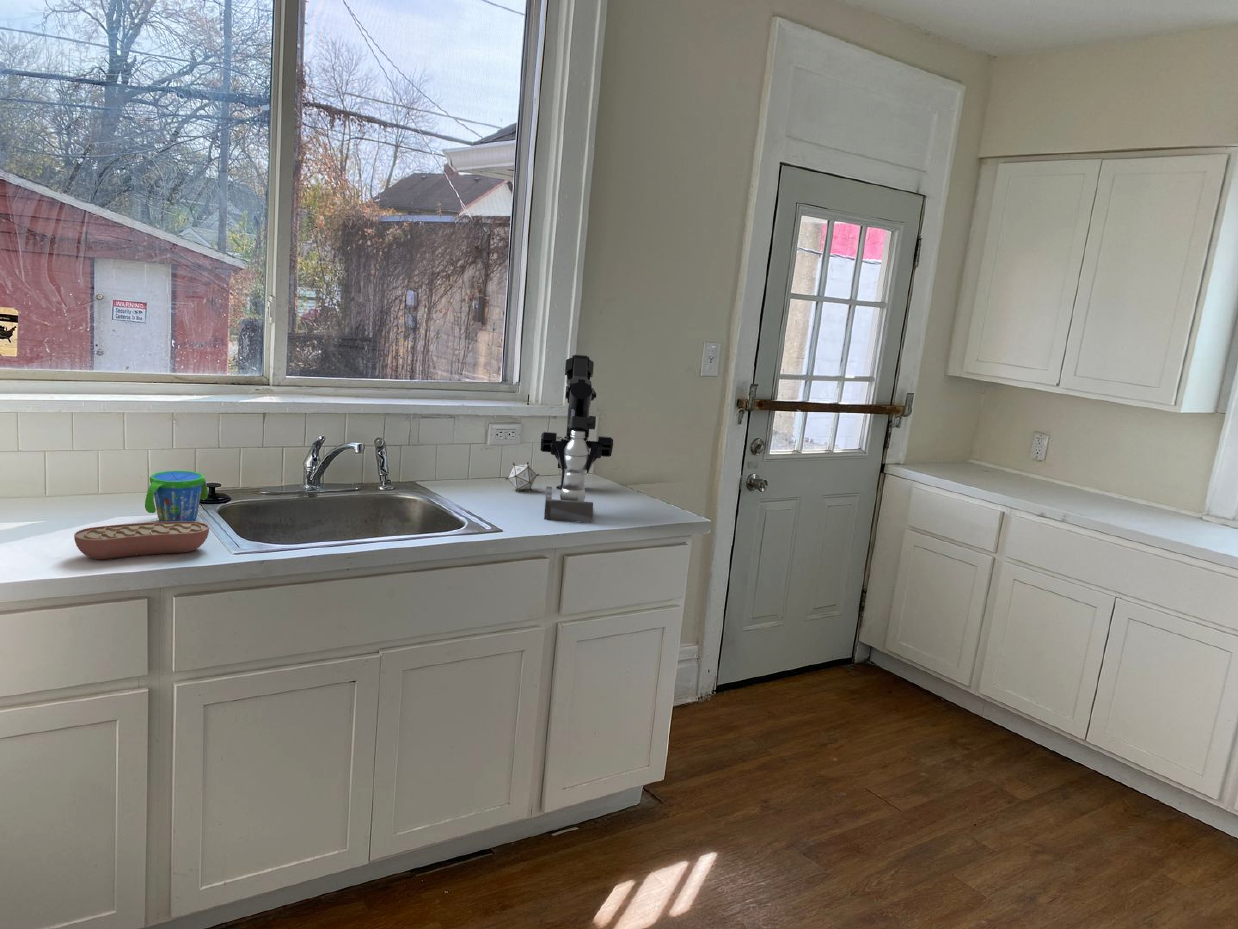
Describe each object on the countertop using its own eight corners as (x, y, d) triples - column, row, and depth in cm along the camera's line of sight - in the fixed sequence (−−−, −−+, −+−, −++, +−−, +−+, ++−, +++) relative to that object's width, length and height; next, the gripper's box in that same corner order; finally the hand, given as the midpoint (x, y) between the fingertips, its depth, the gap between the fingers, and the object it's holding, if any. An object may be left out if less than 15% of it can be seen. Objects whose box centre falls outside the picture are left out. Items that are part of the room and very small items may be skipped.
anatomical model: (77, 568, 162) (76, 541, 161) (72, 552, 170) (71, 527, 169) (213, 555, 175) (213, 531, 174) (202, 542, 183) (202, 518, 182)
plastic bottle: (554, 505, 232) (559, 429, 228) (571, 501, 237) (577, 427, 233) (572, 510, 228) (578, 433, 224) (589, 507, 233) (596, 431, 229)
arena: (545, 504, 241) (546, 486, 240) (589, 507, 242) (591, 489, 241) (544, 519, 225) (545, 500, 224) (591, 522, 226) (593, 503, 225)
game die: (514, 503, 255) (494, 474, 252) (527, 488, 262) (508, 460, 259) (536, 493, 250) (516, 464, 247) (549, 478, 257) (530, 450, 254)
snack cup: (163, 532, 186) (163, 485, 185) (128, 523, 190) (127, 476, 189) (224, 518, 201) (224, 474, 199) (189, 510, 205) (190, 466, 203)
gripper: (544, 400, 231) (539, 450, 222) (616, 406, 232) (614, 456, 223) (542, 426, 240) (538, 475, 231) (611, 431, 241) (610, 480, 233)
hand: (575, 471), depth 229 cm, fingers closed on plastic bottle, 6 cm apart
